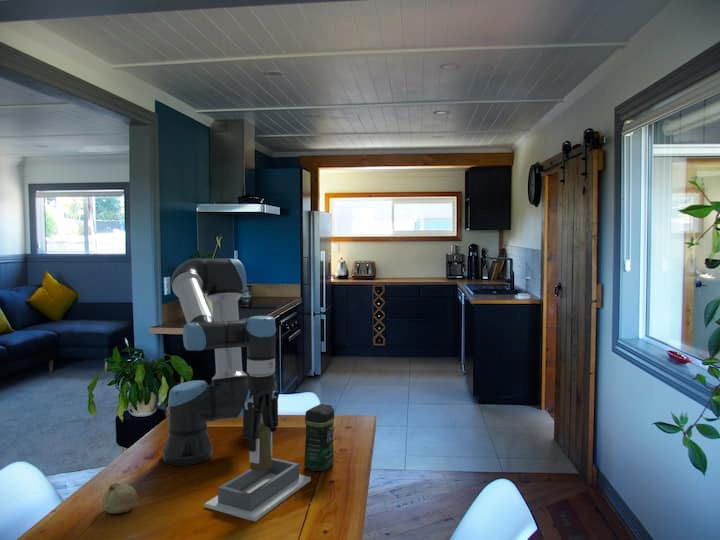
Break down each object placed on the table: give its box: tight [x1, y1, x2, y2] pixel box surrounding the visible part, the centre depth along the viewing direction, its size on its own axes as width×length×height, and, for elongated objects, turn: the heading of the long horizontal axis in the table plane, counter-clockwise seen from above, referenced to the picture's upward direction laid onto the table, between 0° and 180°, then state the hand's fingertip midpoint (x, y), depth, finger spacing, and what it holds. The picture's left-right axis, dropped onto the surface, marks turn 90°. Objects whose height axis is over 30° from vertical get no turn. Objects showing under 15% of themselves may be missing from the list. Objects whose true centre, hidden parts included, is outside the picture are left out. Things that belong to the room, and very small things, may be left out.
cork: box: [249, 425, 272, 471], centre depth 143 cm, size 6×6×11 cm
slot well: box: [204, 457, 312, 523], centre depth 144 cm, size 26×16×5 cm, turn 154°
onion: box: [101, 482, 138, 515], centre depth 134 cm, size 8×8×7 cm
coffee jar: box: [303, 403, 335, 472], centre depth 162 cm, size 10×8×19 cm
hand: (261, 458), depth 144 cm, fingers closed on cork, 5 cm apart
